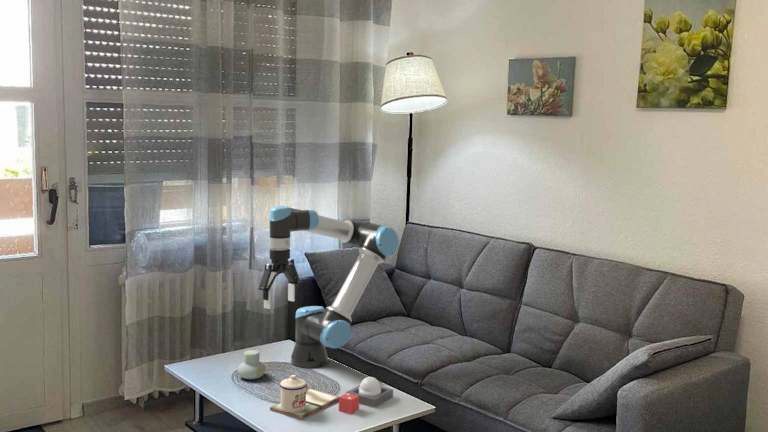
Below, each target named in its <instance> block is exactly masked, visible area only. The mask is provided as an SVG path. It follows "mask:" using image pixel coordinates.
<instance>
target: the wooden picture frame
mask: <svg viewBox="0 0 768 432" xmlns="http://www.w3.org/2000/svg"><path fill="white" fill-rule="evenodd" d="M339 397H340V396H339V395H334V394H331V393H328V392H323V391H321V390H318V389H313V388H308V391H307V394H306V408H305V409H304V410H303V411H301V412H296V413H289V412H285V411H283V410H281V401H280V402H278V403H275V404H274V405H272V406H270V407H269V411H272V412H275V413H279V414H281V415H284V416H287V417H291V418H294V419H298V420H300V421H302V420H304V419H306V418H308V417H310V416H312V415H314V414H316V413H317V412H320V411H321V410H323V409H325V408H327V407H329V406H331V405H333V404H335V403H337V402H339Z"/></svg>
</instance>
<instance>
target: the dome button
mask: <svg viewBox="0 0 768 432" xmlns="http://www.w3.org/2000/svg"><path fill="white" fill-rule="evenodd" d="M359 385H360V387H359V394H362V395H366V396H370V397H373V398H374V397H375V396H377V395H379V394H381V387H380V386H381V384H380V382H379V380H378V379H377V378H376V377H373V376H367V377H365V378H363V379H362V381H360V384H359Z"/></svg>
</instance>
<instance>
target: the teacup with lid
mask: <svg viewBox="0 0 768 432" xmlns="http://www.w3.org/2000/svg"><path fill="white" fill-rule="evenodd" d="M279 386H280V402H281V410H283V411H285V412H289V413H296V412H301V411H303V410H304V409H305V408H306V394H307V391H308V389H309V385H308V383H307V382H306V380H305V379H302V378H299V377H297V375H296V374H291V375H290V377H287V378H285V379H283V380H282V381H281V382H280V384H279Z"/></svg>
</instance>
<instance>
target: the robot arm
mask: <svg viewBox="0 0 768 432" xmlns="http://www.w3.org/2000/svg"><path fill="white" fill-rule="evenodd" d="M268 219H269V246H268V247H269V248H270V249H269V260H271V262H270V263H265V264H264V271H263V274H262V277H261V280H260V283H259V285H258V286H259V287H258V290H259V291H262V299H263V309H267V310H271V309H272V305H271V304H272V301H271V300H272V291H270V290H271V288H272V287H273V284H274V282H275V279H276V278H277V277H278V276H279V275H280V274H283V275H284V277H285V278H286V279H287V281H288V282H289V283H288V284H287V301H289V302H295V301H296V299H295V298H296V295H295V294H296V293H295V292H296V285H298V284H299V282H300V277H299V274H298V272H297V271H298V270H297V268H296V265H295V259H294V258H291V249H290V248H291V232H299V231H300V232H301V231H302V232H303V231H304V232H308V233H312V234H315V235H320V236H324V237H325V236H326V237H329V238H333V239H337V240H339V241H340V242H341V243H344V244H348V245H350V246H353V247H355V248H358V253H359V255H358V257H357V259H356V260H355V263H354V264H353V265H352V268H351V269H350V271H349V273H348V274H347V276H346V279H345V280H344V281H343V284H342V286H341V288H340V290H339V291H338V293H337V295H336V297H335V298H334V300H333V302H332V304H331V305H329V306H326V307H323V306H322V305H321V306H319V305H310V306H308V305H307V306H303V307H299V308H298V309H297V310H296V311H295V319H294V320H295V343H294V348H293V350H292V354H291V356H290V363H291V364H292V365H293V366H295V367H298V368H303V369H305V368H306V369H307V368H309V369H310V368H311V369H313V368H314V369H315V368H321V367H323V366H325V365H327V364H328V363H329V355H328V353H327V349H326V348H331V349H339V348H342V347H343V346H345V345H346V343H348V341H349V340H350V338H351V336H352V328H351V324H352V322H353V320H352V314H353V312H354V310H355V308H356V306H357V304H358V302H359V301H360V299H361V298H362V295H363V294H364V291H365V290H366V287H367V285H368V284H369V282H370V280H371V278H372V277H373V274H375V271H376V269H377V267H378V266H379V264H382V263H384V262H385V261H386V258H387V257H391V256H393V255H394V254H395V253H396V252H397V250H398V248H399V238H398V237H399V235H398V233H397V232H396V231H395V230H394V228H392V227H390V226H387V225H385V224H384V225H382V224H376V223H372V222H368V221H367V222H366V221H364V222H363V221H356V220H355V221H353V220H349V219H347V220H344V221H343V220H340V219H336V218H332V217H327V216H324V215H320V214H318V212H317V211H315V210H314V209H305V210H302V209H299V208H292V207H289V206H284V205H276V206H275V205H274V206H272V207H270V210H269V218H268Z"/></svg>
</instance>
